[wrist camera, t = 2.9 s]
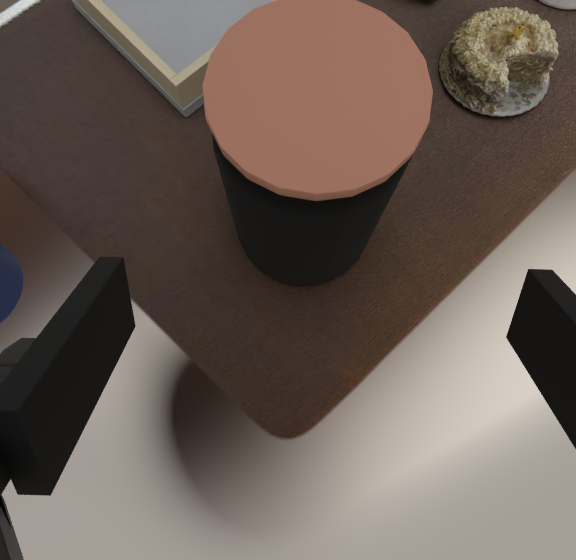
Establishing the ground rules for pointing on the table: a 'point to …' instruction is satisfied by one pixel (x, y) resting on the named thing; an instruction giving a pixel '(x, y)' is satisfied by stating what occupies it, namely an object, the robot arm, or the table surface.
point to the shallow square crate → (168, 39)
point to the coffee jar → (313, 129)
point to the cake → (499, 61)
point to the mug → (560, 3)
